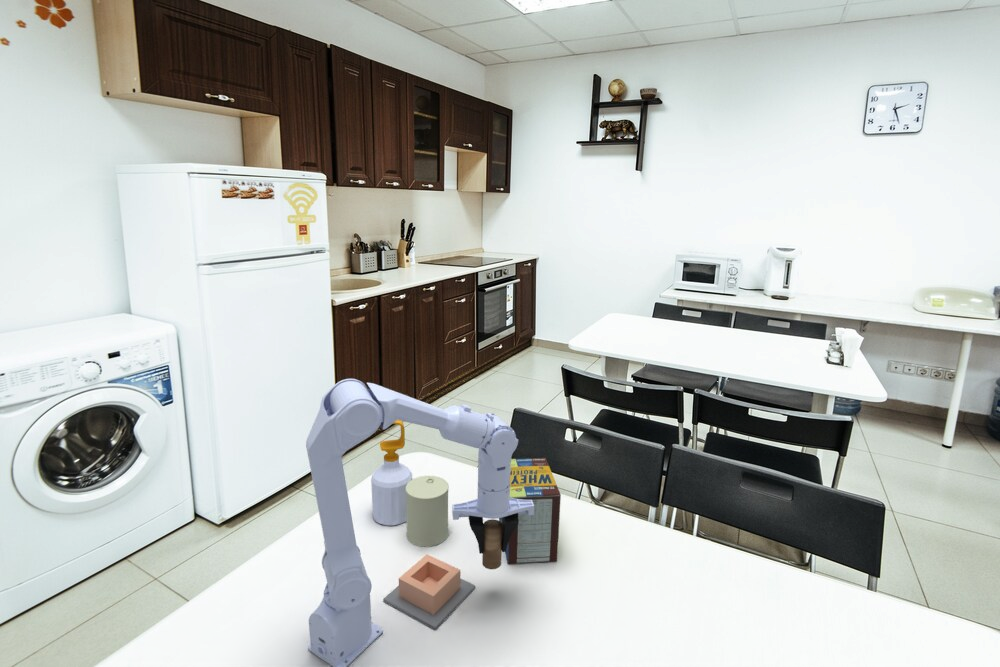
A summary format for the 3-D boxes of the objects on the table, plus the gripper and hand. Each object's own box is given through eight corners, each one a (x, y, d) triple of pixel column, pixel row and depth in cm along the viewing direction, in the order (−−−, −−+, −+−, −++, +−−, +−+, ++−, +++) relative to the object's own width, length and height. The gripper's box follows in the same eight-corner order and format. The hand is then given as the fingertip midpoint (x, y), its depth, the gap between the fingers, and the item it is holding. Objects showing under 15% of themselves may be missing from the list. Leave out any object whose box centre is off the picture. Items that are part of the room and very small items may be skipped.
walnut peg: (494, 572, 97) (495, 533, 94) (478, 564, 98) (479, 526, 96) (504, 561, 99) (506, 523, 97) (488, 554, 101) (489, 517, 99)
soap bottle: (371, 506, 126) (367, 410, 120) (410, 501, 129) (408, 406, 122) (374, 529, 118) (370, 426, 111) (415, 522, 120) (413, 422, 114)
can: (452, 522, 121) (452, 474, 118) (444, 548, 112) (444, 498, 109) (412, 519, 122) (411, 471, 119) (401, 545, 113) (399, 494, 110)
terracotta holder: (435, 630, 91) (435, 608, 90) (383, 601, 97) (382, 580, 96) (475, 588, 101) (475, 567, 100) (425, 564, 107) (425, 544, 106)
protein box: (543, 517, 124) (546, 456, 119) (557, 562, 109) (561, 494, 105) (497, 519, 122) (499, 458, 118) (506, 565, 108) (508, 497, 103)
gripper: (529, 469, 99) (526, 533, 103) (451, 473, 97) (451, 538, 101) (537, 490, 93) (534, 557, 96) (453, 494, 91) (453, 563, 94)
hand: (492, 549), depth 98 cm, fingers closed on walnut peg, 3 cm apart
